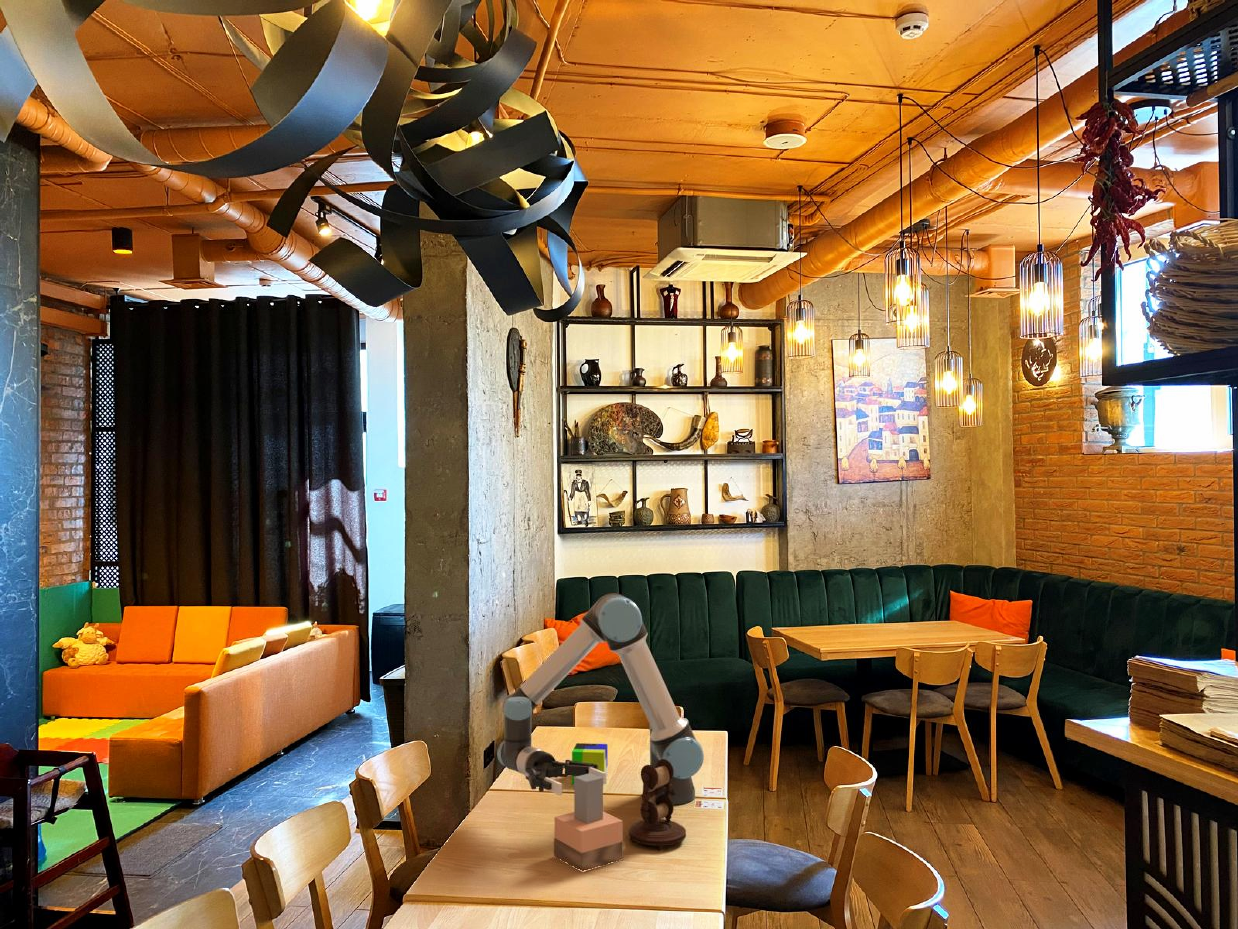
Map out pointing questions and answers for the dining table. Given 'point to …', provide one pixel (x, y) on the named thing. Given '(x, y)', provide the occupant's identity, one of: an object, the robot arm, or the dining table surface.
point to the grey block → (588, 798)
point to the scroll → (657, 809)
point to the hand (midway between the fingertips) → (583, 784)
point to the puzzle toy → (591, 755)
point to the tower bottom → (587, 855)
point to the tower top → (588, 832)
